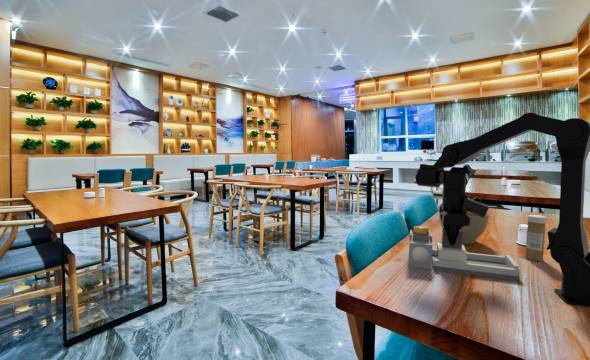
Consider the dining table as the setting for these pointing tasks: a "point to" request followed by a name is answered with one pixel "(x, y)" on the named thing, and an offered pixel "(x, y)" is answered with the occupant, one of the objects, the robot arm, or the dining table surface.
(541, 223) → the sprinkles bottle
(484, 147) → the robot arm
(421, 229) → the button
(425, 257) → the cabinet
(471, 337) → the dining table surface
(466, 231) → the planter bowl
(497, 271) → the rail track
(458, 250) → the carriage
